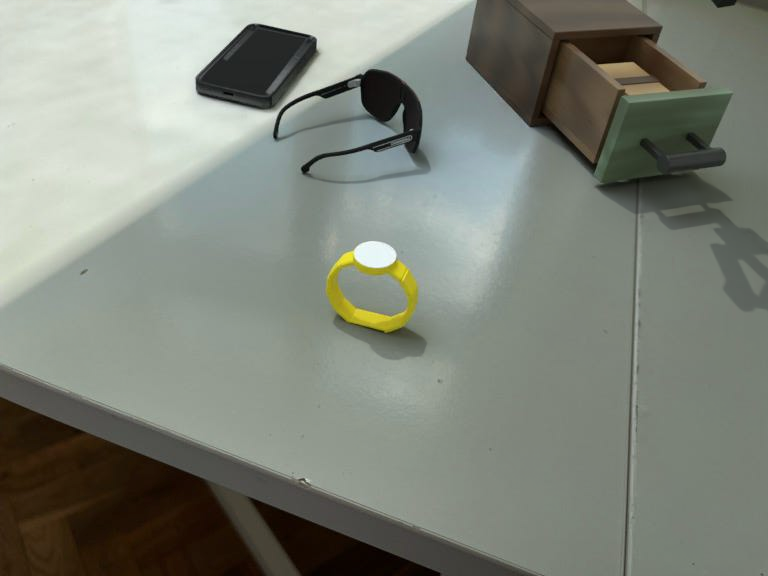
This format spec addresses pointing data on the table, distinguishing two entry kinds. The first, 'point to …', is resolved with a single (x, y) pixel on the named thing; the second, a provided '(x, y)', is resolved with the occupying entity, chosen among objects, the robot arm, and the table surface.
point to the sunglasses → (374, 109)
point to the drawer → (633, 109)
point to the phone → (257, 65)
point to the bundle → (633, 78)
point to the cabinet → (541, 42)
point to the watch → (374, 262)
